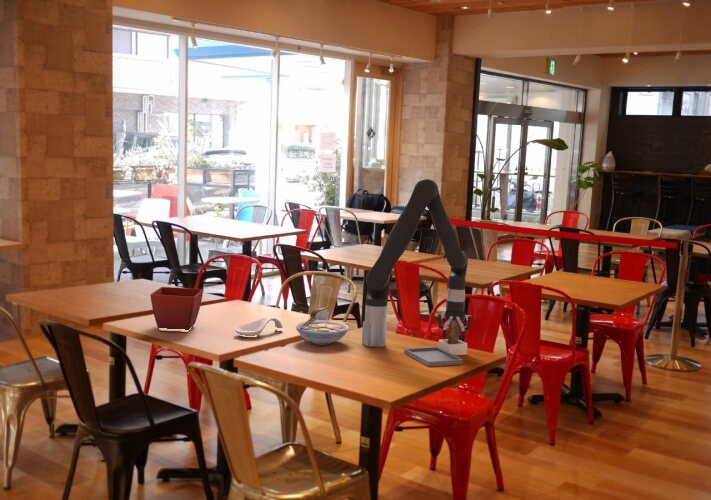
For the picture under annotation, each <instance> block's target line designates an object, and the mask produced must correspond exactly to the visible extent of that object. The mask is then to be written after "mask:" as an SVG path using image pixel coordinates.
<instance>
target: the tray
mask: <svg viewBox="0 0 711 500" xmlns="http://www.w3.org/2000/svg"><path fill="white" fill-rule="evenodd" d="M403 353H404V355H407V356H409V357H410V358H412V359H415V360H416V361H417V362H420V363H422V364H424V365H425V366H426V367H440V366H441V367H442V366H454V365H456V366H457V365H463V363H464V359H462V358H460V357H459V356H458V355H453V354H451V353H449V352H447V351H445V350H443V349H441V348H439V346H427V347H426V346H425V347H413V348H411V347H410V348H404V349H403Z"/></svg>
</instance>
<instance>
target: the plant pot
mask: <svg viewBox="0 0 711 500" xmlns="http://www.w3.org/2000/svg"><path fill="white" fill-rule="evenodd" d="M203 293H204V289H202V288H192V287H190V288H188V287H172V286H171V287H170V286H161V287H159V288H157V289H156V290H155V291H152V292H151V293H150V294H149V295H150V301H151V302H150V303H151V307H152V312H153V316H154V319H155V322H156V326H157V329H158V328H167V329H185V330H189V329H190V328H191V327H192V326H193V325H194V324H196V322H197V319H198V315H199V313H200V308H201V305H202V300H203ZM194 326H195V325H194Z"/></svg>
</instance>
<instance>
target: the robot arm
mask: <svg viewBox="0 0 711 500" xmlns="http://www.w3.org/2000/svg"><path fill="white" fill-rule="evenodd" d="M426 209H427V210H428V212H429V215H430V216H431V220H432V224H433V226H434V230H435V232H436V234H437V237H438V240H439V242H440V244H441V246H442V247H443V251H444V254H445V258H446V261H447V264H448V265H449V266H450V274H449V276H448V279H447V280H448V282H447V291H446V302H445V303H446V304H445V311H444V313H440V312H439V313H438V314H437V318H438V321H437V323H438V328H439V329H441V330H442V338H444V339H443V340H446V339H447V331H448V329H447V328H449V323H450V324H451V320H457V321H458V324H459V328H460V329H461V330H460V341H463V339H465V335H466V333H465V332H466V331H470V328H471V327H470V326H471V321H472V315H471V314H469V315H468V314H466V313H465V305H466V303H465V302H466V276H467V270H468V264H469V259H468V255H467V253H466V252H465V251H464V250H462V249H461V247H460V244H459V238H458V236H457V233H456V232H455V231H456V230H455V229H454V226H453V224H452V222H451V220H450V218H449V216H448V214H447V213H446V212H447V211H446V210H445V207H444V205H443V201H442V198H441V195H440V191H439V186H438V183H437V182H436V181H434V179H433V180H432V179H431V178H422V179H420V180H418V181H417V182H416V183H415V186H414V188H413V190H412V193H411V195H410V197H409V199H408V202H407V204H406V206H405V207H404V210H402V212H401V214H400V215H399V216H398V218H397V220H396V221H395V223H394V224H393V226H392V229H391V230H390V232H389V234H388V236H387V238H386V240H385V243H384V245H383V247H382V250H381V252H380V254H379V256H378V258H377V260H376V261H375V262H374V264H373V266H371V268H370V269H369V271H368V272H367V274H366V277H365V281H366V285H367V286H366V295H365V296H366V297H365V310H364V311H365V312H364V321H363V322H362V331H361V333H362V334H361V344H362V345H364V346H366V347H367V348H368V347H369V348H370V347H371V348H381V347H382V348H383V347H385V346H386V343H387V337H386V336H387V319H388V304H389V303H388V302H389V292H390V276H391V273H392V271H393V269H394V267H395V265H396V264H397V262H398V261H399V259H400V258H401V257H402V256H403V255H404V253H405V251H406V250H407V248H408V247H409V245H410V243H411V241H412V239H414V236H415V234H416V231H417V229H418V226H419V223H420V220H421V217H422V215H423V213H424V211H426ZM444 317H445V318H446V322H445V323H444V325H443V324H442V323H443V321H442V320H443V319H444ZM463 320H466V321H467V322H466V326H464V322H463Z"/></svg>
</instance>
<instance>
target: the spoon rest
mask: <svg viewBox="0 0 711 500" xmlns="http://www.w3.org/2000/svg"><path fill="white" fill-rule="evenodd" d="M270 321H273V323H274V328H275V327H277V328H283V327H284V326H283V325H282V322H281V321H280V320H279V319H277V318H276V317H271V316H265V317H262V318H260V319H258V320H254V321H251V322H250V323H246V324H242V325H239V326H237V327H236V328H235V329H234V330H235V332H236V333H238V334H240V335H245V336H255V335H258V336H260V334H262V332H263V331H264V329H265V328H266V327H267V324H268V323H269V322H270ZM283 329H284V328H283ZM241 331H255V332H241ZM238 334H237V335H238ZM240 335H239V336H240Z"/></svg>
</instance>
